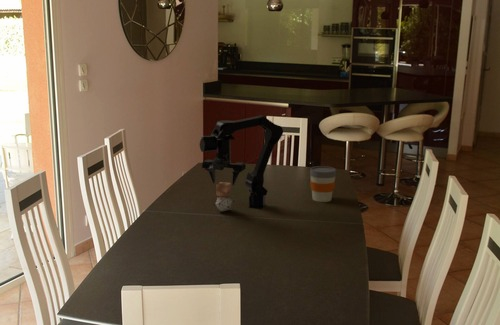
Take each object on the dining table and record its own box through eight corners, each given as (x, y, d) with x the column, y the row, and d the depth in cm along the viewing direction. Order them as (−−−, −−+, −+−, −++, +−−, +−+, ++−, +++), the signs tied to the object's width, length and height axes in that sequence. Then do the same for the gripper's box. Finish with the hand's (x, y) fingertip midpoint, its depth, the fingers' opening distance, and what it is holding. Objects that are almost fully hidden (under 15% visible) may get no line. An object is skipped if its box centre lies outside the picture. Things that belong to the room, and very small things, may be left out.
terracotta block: (230, 193, 248) (230, 182, 247) (226, 196, 243) (226, 185, 242) (220, 192, 249) (220, 181, 248) (216, 195, 245) (216, 184, 243)
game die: (219, 219, 248) (206, 203, 246) (228, 208, 254) (215, 191, 252) (232, 214, 242) (218, 197, 240) (241, 202, 248) (228, 185, 246)
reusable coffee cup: (334, 195, 272) (335, 166, 269) (335, 203, 260) (337, 172, 257) (308, 194, 274) (309, 165, 270) (308, 202, 261) (310, 172, 258)
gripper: (196, 151, 237) (196, 186, 240) (237, 155, 231) (237, 191, 235) (206, 146, 247) (206, 180, 251) (246, 150, 241) (245, 184, 245)
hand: (223, 184), depth 245 cm, fingers open, 9 cm apart
